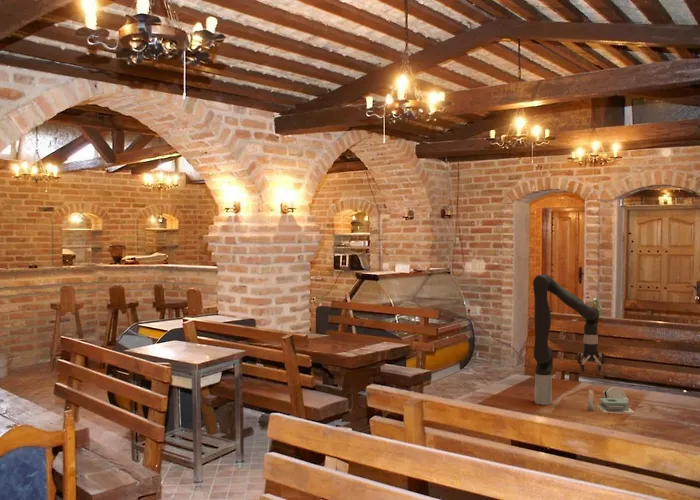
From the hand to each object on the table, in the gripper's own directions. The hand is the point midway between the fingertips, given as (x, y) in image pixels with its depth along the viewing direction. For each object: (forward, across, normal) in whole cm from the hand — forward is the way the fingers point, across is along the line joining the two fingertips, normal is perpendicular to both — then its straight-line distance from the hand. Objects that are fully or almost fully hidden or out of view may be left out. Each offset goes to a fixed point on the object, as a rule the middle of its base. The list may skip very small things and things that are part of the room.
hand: (590, 371), depth 356 cm
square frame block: (+22, +13, 0) cm, 26 cm away
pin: (+22, 0, 0) cm, 22 cm away
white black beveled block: (+22, +19, +18) cm, 34 cm away
